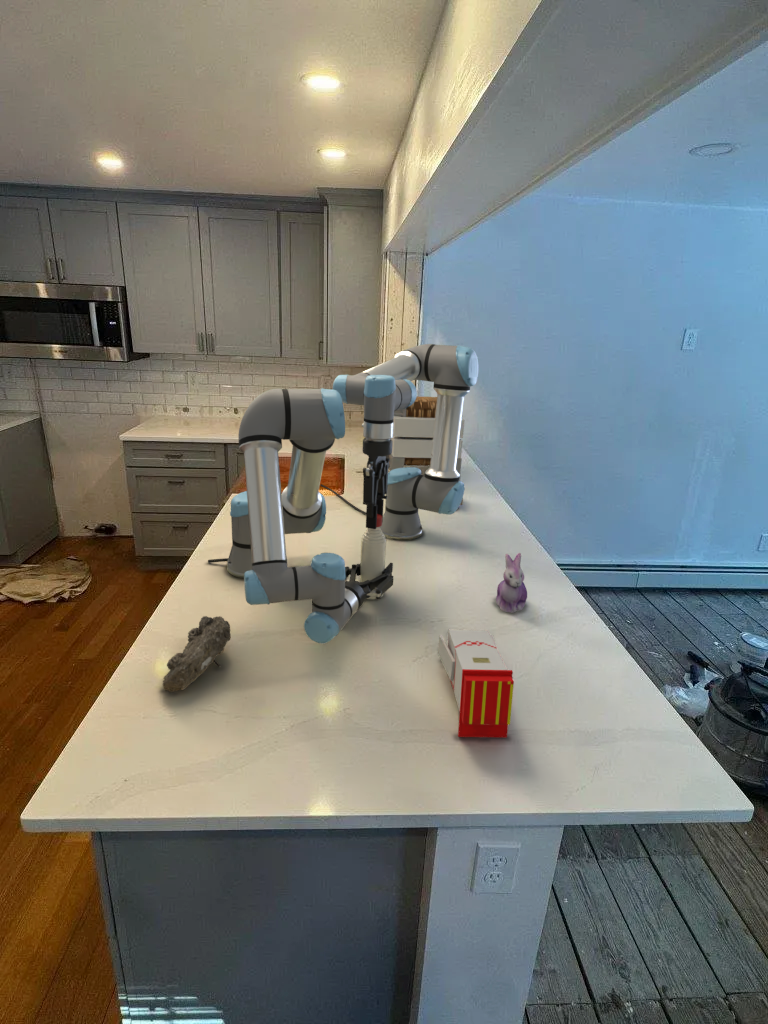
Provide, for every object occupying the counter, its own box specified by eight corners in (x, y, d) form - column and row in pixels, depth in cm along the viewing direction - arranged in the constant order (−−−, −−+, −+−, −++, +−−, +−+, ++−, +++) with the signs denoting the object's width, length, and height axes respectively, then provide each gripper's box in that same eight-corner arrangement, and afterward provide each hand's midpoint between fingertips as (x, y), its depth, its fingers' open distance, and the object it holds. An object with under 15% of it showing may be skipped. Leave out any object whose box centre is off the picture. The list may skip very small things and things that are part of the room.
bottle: (369, 585, 162) (371, 511, 154) (388, 592, 158) (392, 517, 151) (354, 594, 157) (356, 517, 149) (374, 601, 153) (377, 523, 145)
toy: (488, 613, 130) (523, 677, 101) (484, 667, 133) (517, 744, 104) (435, 612, 130) (455, 676, 101) (432, 666, 133) (451, 743, 103)
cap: (372, 520, 153) (372, 512, 152) (385, 524, 151) (385, 515, 150) (363, 524, 150) (363, 516, 149) (376, 528, 148) (376, 519, 147)
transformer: (382, 463, 289) (386, 382, 275) (445, 464, 293) (451, 384, 279) (390, 482, 257) (394, 392, 243) (460, 483, 261) (468, 394, 247)
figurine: (509, 617, 148) (516, 565, 143) (485, 599, 156) (491, 550, 151) (537, 610, 152) (544, 559, 147) (512, 593, 161) (519, 544, 156)
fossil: (186, 619, 132) (231, 589, 127) (214, 646, 135) (260, 618, 130) (141, 685, 113) (192, 653, 108) (176, 716, 116) (227, 686, 111)
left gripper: (309, 605, 144) (346, 570, 164) (382, 622, 137) (411, 583, 158) (309, 579, 141) (347, 546, 161) (383, 595, 135) (413, 558, 155)
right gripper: (375, 430, 151) (372, 512, 159) (350, 443, 136) (348, 533, 144) (402, 433, 149) (397, 517, 157) (379, 447, 134) (376, 538, 142)
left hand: (379, 564), depth 160 cm, fingers closed on bottle, 7 cm apart
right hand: (374, 524), depth 150 cm, fingers closed on cap, 4 cm apart
